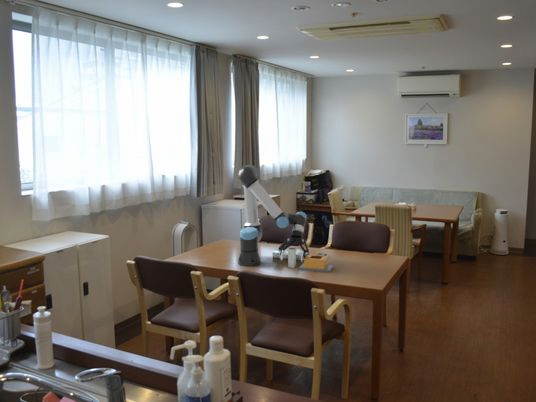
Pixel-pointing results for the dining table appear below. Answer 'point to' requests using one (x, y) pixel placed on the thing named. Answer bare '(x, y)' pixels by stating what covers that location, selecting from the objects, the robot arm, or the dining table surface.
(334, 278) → the dining table surface
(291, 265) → the white cylinder
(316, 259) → the yellow and grey block
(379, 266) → the dining table surface
